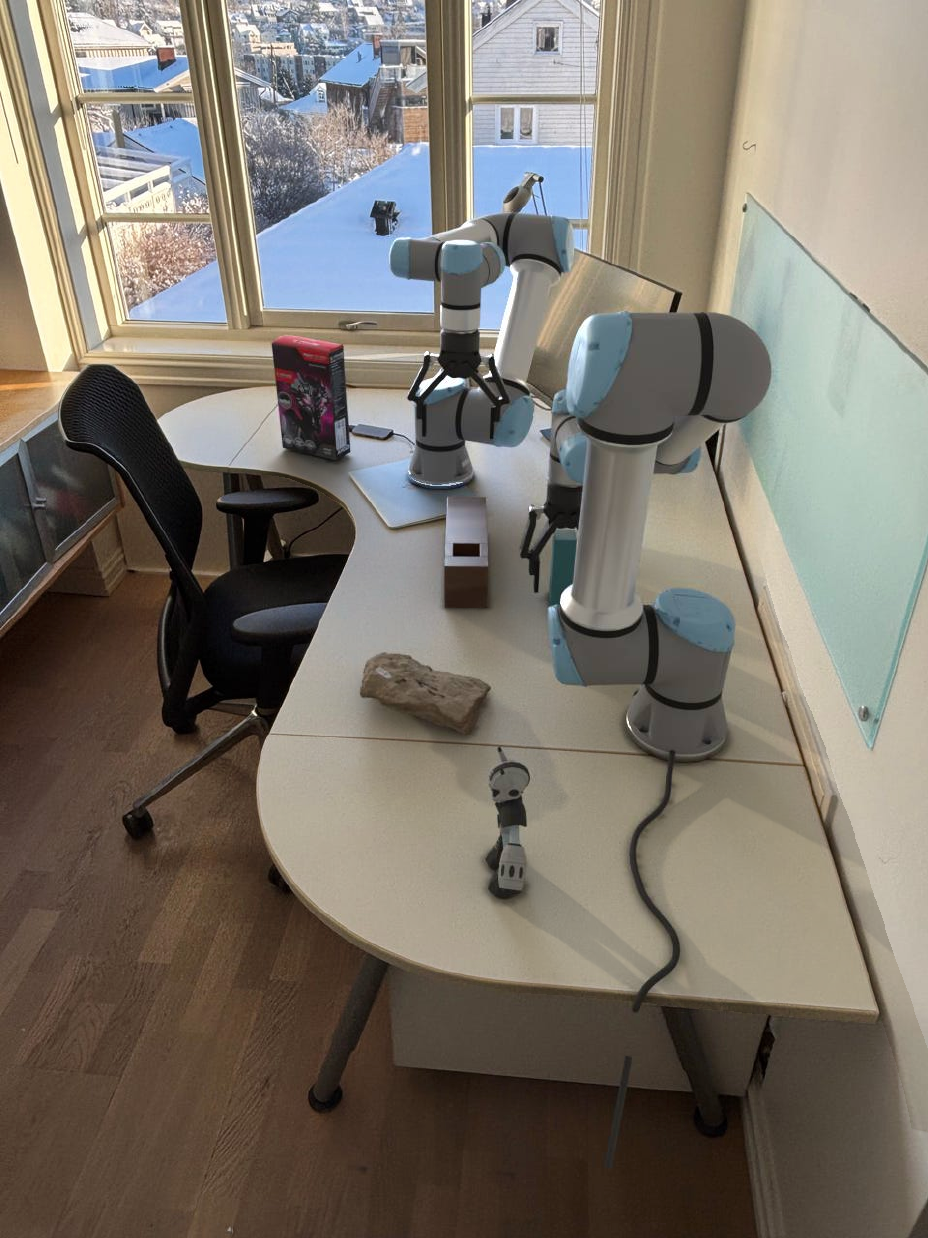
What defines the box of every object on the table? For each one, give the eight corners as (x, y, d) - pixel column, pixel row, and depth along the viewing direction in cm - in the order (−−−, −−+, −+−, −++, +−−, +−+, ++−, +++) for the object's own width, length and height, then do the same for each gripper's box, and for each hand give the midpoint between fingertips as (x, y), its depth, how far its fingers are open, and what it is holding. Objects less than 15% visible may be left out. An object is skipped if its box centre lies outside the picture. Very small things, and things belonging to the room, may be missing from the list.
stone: (334, 705, 142) (341, 671, 140) (369, 669, 156) (376, 637, 153) (461, 752, 139) (471, 718, 136) (486, 710, 152) (495, 679, 150)
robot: (531, 936, 111) (540, 818, 100) (491, 937, 111) (496, 820, 100) (516, 817, 127) (522, 704, 116) (481, 818, 127) (484, 705, 116)
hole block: (487, 608, 172) (488, 566, 167) (444, 607, 172) (444, 566, 167) (485, 535, 195) (486, 497, 190) (447, 535, 195) (447, 496, 190)
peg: (571, 605, 172) (577, 540, 165) (550, 605, 172) (554, 539, 165) (569, 594, 176) (575, 529, 168) (548, 594, 176) (553, 529, 168)
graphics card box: (280, 449, 231) (268, 340, 216) (296, 439, 236) (286, 332, 221) (337, 462, 224) (328, 351, 209) (352, 452, 229) (345, 343, 214)
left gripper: (525, 325, 178) (519, 431, 189) (396, 321, 179) (398, 426, 190) (526, 336, 172) (519, 444, 183) (392, 331, 172) (394, 439, 183)
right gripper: (627, 470, 163) (615, 579, 176) (507, 469, 163) (503, 578, 176) (634, 489, 157) (620, 600, 170) (508, 487, 157) (504, 599, 170)
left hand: (458, 435), depth 186 cm, fingers open, 13 cm apart
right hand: (560, 589), depth 173 cm, fingers open, 9 cm apart
